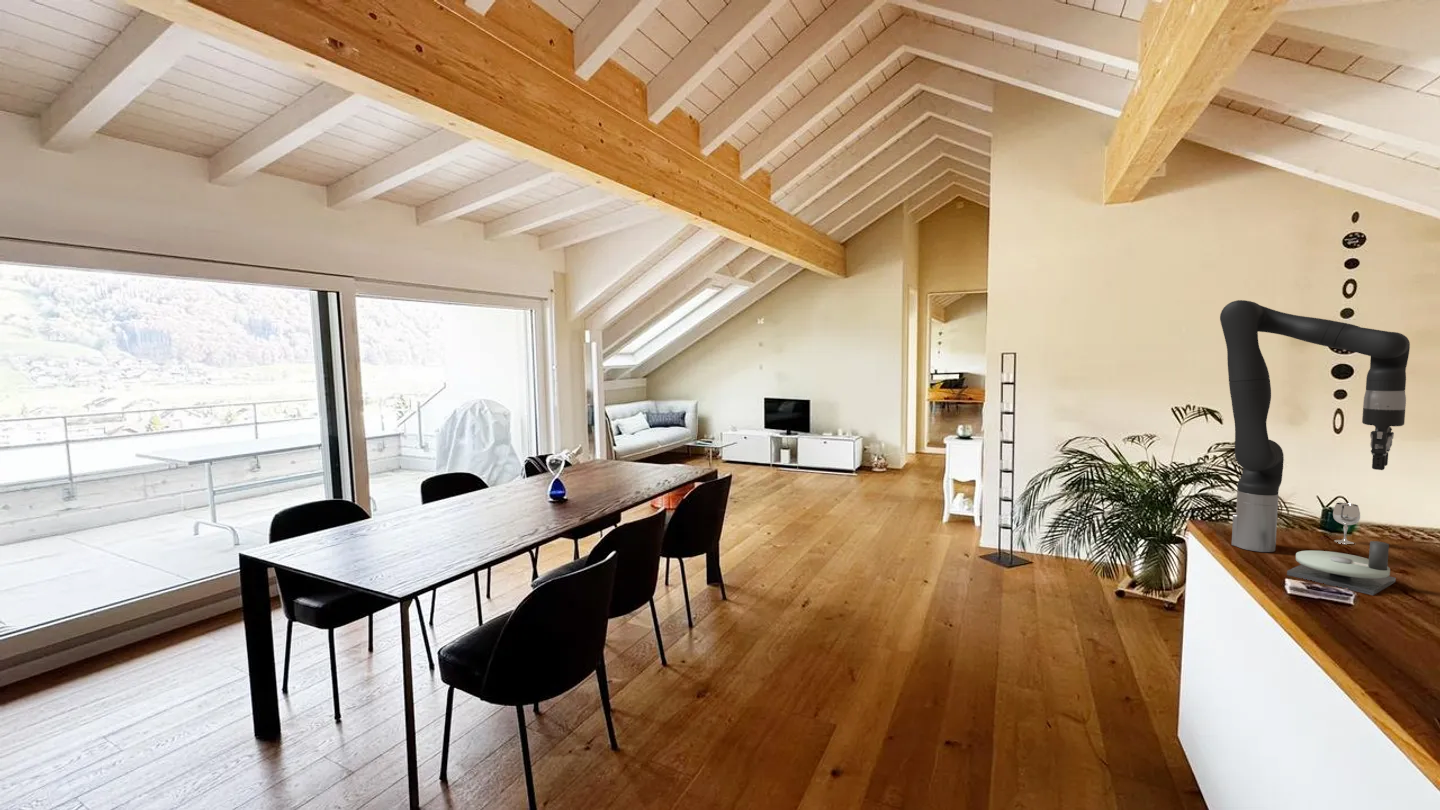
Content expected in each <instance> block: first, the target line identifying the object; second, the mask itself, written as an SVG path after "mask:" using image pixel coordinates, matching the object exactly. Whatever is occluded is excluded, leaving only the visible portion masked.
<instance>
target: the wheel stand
mask: <svg viewBox="0 0 1440 810" xmlns="http://www.w3.org/2000/svg"><path fill="white" fill-rule="evenodd" d="M1286 576H1289V577H1294V578H1298V579H1302V578H1303V579H1304V580H1306V579H1307V581H1310V580H1312V581H1311V582H1314V581H1315V582H1314V583H1320V584H1323V583H1324V585H1327V586H1333V587H1336V586H1338V587H1337V588H1340V587H1342V588H1341V589H1344V588H1348V589H1350V590H1349V591H1351V592H1352V591H1353V592H1357V593H1360V594H1361V593H1362V594H1365V595H1370V596H1375V595H1376V594H1378V593H1380V592H1382V591H1383V590H1385V589H1386V588H1388V587H1390V586H1391V585H1393V584H1395V583H1396V577H1394V576H1390V575H1389V576H1388V577H1385V578H1358V577H1350V576H1343V575H1338V574H1332V573H1328V572H1324V571H1320V570H1316V569H1313V568H1310V567H1307V566H1304V565H1302V564H1299V565H1297V566H1294V567H1292V568H1290V569H1288V570H1286ZM1348 589H1347V590H1348Z"/></svg>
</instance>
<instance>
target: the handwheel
mask: <svg viewBox="0 0 1440 810" xmlns="http://www.w3.org/2000/svg"><path fill="white" fill-rule="evenodd" d="M1389 549H1390V543H1388V542H1383V541H1380V540H1379V541H1377V540H1376V541H1375V540H1369V554H1368V558H1367V557H1362V556H1359V555H1354V554H1350V553H1349V554H1348V553H1343V552H1337V551H1328V550H1325V551H1324V550H1301V551H1297V552H1296V553H1295V561H1296V562H1297V563H1298V564H1299V565H1301V564H1302V565H1304V566H1307V567H1310V568H1313V569H1316V570H1320V571H1324V572H1328V573H1332V574H1338V575H1343V576H1350V577H1358V578H1385V577H1388V576H1390V575H1391V568H1390V567H1389V566H1388V565H1389V561H1388V560H1389V553H1390V552H1389V551H1390V550H1389Z"/></svg>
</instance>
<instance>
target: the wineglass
mask: <svg viewBox="0 0 1440 810" xmlns="http://www.w3.org/2000/svg"><path fill="white" fill-rule="evenodd" d="M1332 516H1333V517H1332V518H1333V519H1334V521H1336V522H1337V523H1339V524H1341V525H1343V529H1342V530H1343V538H1342V539H1335V540H1334V543H1337V542H1338V543H1337V544H1341V543H1342V544H1341V545H1347V544H1354V543H1355V542H1353V541H1350V540H1348V539H1347V532H1348V530H1349V527H1348V526H1352V525H1356V524H1358V523H1359V522H1360V520H1361V511H1360V507H1359V505H1358V504H1356V503H1355V504H1354V503H1349V502H1336V503H1335V505H1334V508H1333V512H1332Z"/></svg>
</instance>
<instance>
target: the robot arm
mask: <svg viewBox="0 0 1440 810" xmlns="http://www.w3.org/2000/svg"><path fill="white" fill-rule="evenodd" d="M1219 321H1220V326H1221V329H1222V334H1223V336H1224V341H1225V345H1226V350H1227V354H1226V355H1227V372H1228V384H1229V385H1228V386H1229V393H1230V400H1231V407H1232V413H1233V414H1232V415H1233V419H1234V420H1233V421H1234V432H1235V433H1234V458H1235V460H1236V462H1237V463H1238V465H1239V466H1240V467H1241V468H1242V473H1241V476H1240V478H1239V480H1238V481H1237V491H1236V510H1235V511H1236V513H1234V514H1233V515H1232V526H1231V529H1232V531H1231V532H1232V533H1231V546H1235V547H1237V548H1240V549H1243V550H1247V551H1251V552H1252V551H1253V552H1260V553H1273V552H1275V551H1276V545H1277V528H1278V526H1277V525H1278V509H1279V491H1280V490H1279V489H1280V486H1281V484H1282V480H1283V470H1284V461H1285V459H1284V456H1285V455H1284V451H1283V448H1282V447H1281V446H1280V444H1279V443H1277V442H1276V441H1275V440H1271V439H1269V434H1268V428H1267V420H1268V414H1269V410H1270V406H1271V399H1272V385H1271V379H1270V378H1271V377H1270V373H1269V372H1270V371H1269V370H1268V369H1269V368H1268V366H1267V364H1266V361H1265V358H1264V356H1263V354H1262V352H1261V348H1260V343H1259V333H1260V332H1261V333H1269V334H1276V335H1281V336H1284V337H1289V338H1293V339H1295V340H1296V339H1297V340H1299V341H1302V342H1307V343H1311V344H1314V345H1319V346H1324V347H1328V348H1333V349H1337V350H1345V351H1351V352H1353V353H1358V354H1360V355H1364V356H1369V357H1370V362H1369V363H1370V364H1369V365H1370V366H1369V370H1368V372H1367V373H1366V381H1365V382H1366V383H1365V393H1364V396H1363V404H1362V421H1361V423H1362V424H1364V425H1366V426H1374V427H1375V429H1374V430H1371V431H1370V443H1369V444H1370V445H1369V446H1370V448H1371V450H1370V454H1371V455H1372V462H1371V463H1372V464H1371V468H1372V469H1373V470H1378V471H1384V470H1385V468H1386V466H1388V462H1389V461H1388V460H1389V452H1390V451H1391V448H1392V446H1393V439H1394V432H1393V428H1392V427H1403V426H1404V425H1405V418H1406V405H1407V403H1406V402H1407V395H1406V386H1407V385H1406V384H1407V373H1406V370H1407V366H1408V361H1409V355H1410V348H1411V344H1410V343H1411V342H1410V340H1409V338H1408V337H1407V336H1406V335H1404V334H1403V333H1401V332H1395V331H1389V330H1388V331H1387V330H1380V329H1374V328H1368V327H1363V326H1362V327H1361V326H1358V325H1355V324H1351V323H1348V322H1347V323H1346V322H1343V321H1338V320H1337V321H1336V320H1331V319H1327V318H1326V319H1324V318H1318V317H1312V316H1311V317H1309V316H1304V315H1303V316H1302V315H1296V314H1290V313H1287V312H1282V311H1279V310H1275V309H1272V308H1270V307H1267V306H1263V305H1260V304H1258V303H1257V302H1255V301H1251V300H1243V299H1238V300H1234V301H1231V302H1229V303H1228V304H1226V305H1225V306H1224V307H1223V308H1222V310H1221V312H1220V315H1219ZM1258 332H1259V333H1258Z"/></svg>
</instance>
